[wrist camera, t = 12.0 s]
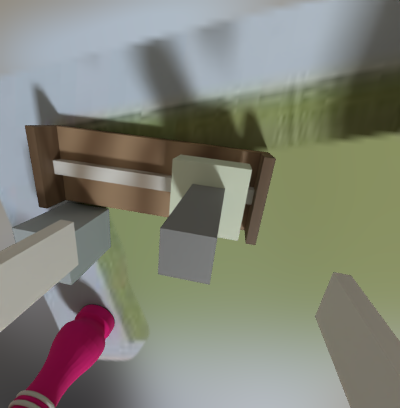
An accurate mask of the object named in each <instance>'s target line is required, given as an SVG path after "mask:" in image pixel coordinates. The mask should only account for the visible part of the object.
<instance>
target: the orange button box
mask: <svg viewBox="0 0 400 408" xmlns="http://www.w3.org/2000/svg"><path fill="white" fill-rule="evenodd" d="M59 220H66V221H71V222H74V229H75V237H76V246H77V255H78V263H79V265H77V266H76V267H75V268H74V269H73V270H72V271H71V272H69V273H68V274H67V275H66V276H65V277H64V278H62V279H61V280H60V281H59V283H63V284H68V285H72V284H73V283H74V282H75V281H76V280H77V279H78V278H79V277H81V276H82V275H83V274H84V273H85V272H86V271H87V270H88V269H89V268H90V267H91V266H92V265H93V264H94V263H95V262H96V261H97V260H98V259H99V258H100V257H101V256H102V255H103V254H104V253H105V252H106V251H107V250H108V249H109V248H110V247H111V243H110V222H109V209H106V208H100V207H94V206H89V205H83V204H77V203H71V202H67V203H65V204H63V205H61V206H58V207H56V208H54V209H52V210H50V211H48V212H45V213H43V214H41V215H39V216H37V217H35V218H33V219H30V220H28V221H26V222H24V223H22V224H20V225H17V226H15V227H13V228H12V230H13V234H14V239H15V242H16V243H17V242H19V241H21V240H23V239H25V238H27V237H28V236H30V235H32V234H34V233H36V232H38V231H40V230H42V229H44V228H46V227H47V226H49V225H51V224H53V223H55V222H57V221H59Z"/></svg>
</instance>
